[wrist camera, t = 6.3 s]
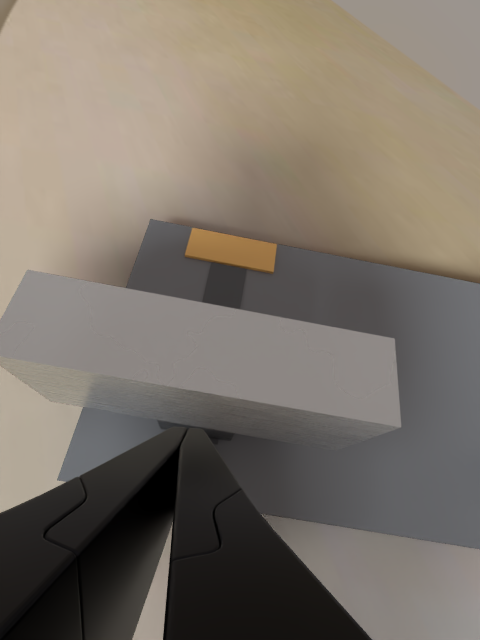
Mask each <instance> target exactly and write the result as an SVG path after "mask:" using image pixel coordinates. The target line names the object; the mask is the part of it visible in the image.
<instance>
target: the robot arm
mask: <svg viewBox="0 0 480 640" xmlns="http://www.w3.org/2000/svg"><path fill="white" fill-rule="evenodd" d="M172 522H173V528H172V540H171V552H170V564H169V575H168V587H167V599H166V611H165V623H164V634H163V640H372V639H371V638H370V637H369V636H368V635H367V633H366V632H365V631H364V630H363V629H362V628H361V627H360V626H359V624H358V623H357V622H356V621H355V620H354V619H353V618H352V617H351V616H350V614H349V613H348V612H347V611H346V610H345V609H344V608H343V607H342V606H341V604H340V603H339V602H338V601H337V600H336V599H335V598H334V597H333V595H332V594H331V593H330V592H329V591H328V590H327V589H326V588H325V587H324V585H323V584H322V583H321V582H320V581H319V580H318V579H317V578H316V577H315V575H314V574H313V573H312V572H311V571H310V570H309V569H308V568H307V566H306V565H305V564H304V563H303V562H302V561H301V560H300V559H299V558H298V556H297V555H296V554H295V553H294V552H293V551H292V550H291V549H290V548H289V546H288V545H287V544H286V543H285V542H284V541H283V540H282V539H281V537H280V536H279V535H278V534H277V533H276V532H275V531H274V530H273V529H272V527H271V526H270V525H269V524H268V523H267V521H266V520H265V519H264V518H263V517H262V515H261V514H260V513H259V512H258V510H257V509H256V507H255V506H254V505H253V503H252V502H251V500H250V499H249V498H248V496H247V494H246V493H245V491H244V490H243V489H242V488H241V486H240V485H239V483H238V482H237V480H236V478H235V477H234V475H233V474H232V472H231V471H230V469H229V468H228V466H227V465H226V463H225V462H224V460H223V458H222V457H221V455H220V454H219V452H218V451H217V449H216V448H215V446H214V445H213V443H212V442H211V440H210V438H209V437H208V435H207V434H206V432H205V431H204V430H203V429H198V428H189V429H187V428H185V427H171V428H169V429H167V430H165V431H164V432H162V433H160V434H158V435H156V436H154V437H152V438H150V439H148V440H146V441H145V442H143V443H141V444H139V445H137V446H135V447H133V448H131V449H129V450H128V451H126V452H124V453H122V454H120V455H118V456H116V457H114V458H112V459H110V460H109V461H107V462H105V463H103V464H101V465H99V466H97V467H95V468H93V469H91V470H90V471H88V472H86V473H84V474H82V475H80V476H79V477H75V478H73V479H71V480H69V481H67V482H66V483H64V484H62V485H60V486H58V487H56V488H54V489H52V490H50V491H48V492H46V493H44V494H42V495H40V496H37V497H35V498H33V499H31V500H29V501H26V502H24V503H22V504H20V505H17V506H15V507H13V508H11V509H8V510H6V511H4V512H2V513H0V640H132V638H133V635H134V632H135V629H136V627H137V624H138V621H139V618H140V615H141V612H142V609H143V606H144V603H145V601H146V598H147V595H148V592H149V589H150V586H151V583H152V580H153V577H154V574H155V572H156V569H157V566H158V563H159V560H160V557H161V554H162V551H163V548H164V546H165V543H166V540H167V537H168V534H169V531H170V528H171V525H172Z"/></svg>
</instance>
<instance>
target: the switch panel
mask: <svg viewBox="0 0 480 640" xmlns="http://www.w3.org/2000/svg"><path fill="white" fill-rule="evenodd" d="M126 288H128V289H133V290H139V291H144V292H149V293H155V294H160V295H165V296H171V297H176V298H181V299H187V300H192V301H197V302H203V303H208V304H213V305H219V306H224V307H229V308H235V309H240V310H245V311H251V312H256V313H261V314H267V315H272V316H277V317H283V318H288V319H293V320H299V321H304V322H309V323H315V324H320V325H325V326H331V327H336V328H341V329H347V330H352V331H357V332H363V333H368V334H373V335H379V336H384V337H389V338H395V349H396V362H397V376H398V389H399V402H400V416H401V428H398V429H395V430H392V431H390V432H387V433H384V434H381V435H378V436H375V437H373V438H370V439H367V440H364V441H361V442H358V443H356V444H353V445H350V446H347V447H344V448H341V449H338V450H336V451H335V450H329V449H323V448H317V447H311V446H306V445H300V444H294V443H288V442H282V441H277V440H271V439H265V438H259V437H253V436H248V435H242V434H236V433H235V435H234V436H233V438H232V439H231V441H227V440H222V439H216V438H210V437H209V438H210V440H211V442H212V443H213V445H214V446H215V448H216V449H217V451H218V452H219V454H220V455H221V457H222V458H223V460H224V462H225V463H226V465H227V466H228V468H229V469H230V471H231V472H232V474H233V475H234V477H235V478H236V480H237V482H238V483H239V485H240V486H241V488H242V489H243V490H244V491H245V493H246V494H247V496H248V498H249V499H250V500H251V502H252V503H253V505H254V506H255V507H256V509H257V510H258V512H259V513H261V514H267V515H273V516H279V517H286V518H292V519H298V520H304V521H310V522H316V523H322V524H328V525H335V526H341V527H347V528H353V529H359V530H365V531H371V532H378V533H384V534H390V535H396V536H402V537H408V538H414V539H420V540H427V541H433V542H439V543H445V544H451V545H457V546H463V547H469V548H476V549H480V284H479V283H474V282H469V281H464V280H458V279H453V278H448V277H443V276H438V275H433V274H428V273H423V272H418V271H413V270H408V269H402V268H397V267H392V266H387V265H382V264H377V263H372V262H367V261H362V260H357V259H352V258H346V257H341V256H336V255H331V254H326V253H321V252H316V251H311V250H306V249H301V248H296V247H290V246H285V245H280V244H275V243H270V242H265V241H260V240H255V239H250V238H245V237H240V236H234V235H229V234H224V233H219V232H214V231H209V230H204V229H199V228H194V227H189V226H184V225H178V224H173V223H168V222H163V221H158V220H153V219H150V222H149V225H148V228H147V231H146V233H145V236H144V239H143V242H142V245H141V247H140V250H139V253H138V256H137V259H136V261H135V264H134V267H133V270H132V272H131V275H130V278H129V281H128V284H127V286H126ZM164 431H165V430H163V429H160V426H159V424H158V422H157V420H155V419H149V418H143V417H137V416H132V415H126V414H120V413H114V412H108V411H103V410H97V409H91V408H85V407H83V409H82V412H81V415H80V418H79V420H78V423H77V426H76V429H75V431H74V434H73V437H72V440H71V443H70V445H69V448H68V451H67V454H66V457H65V459H64V462H63V465H62V468H61V471H60V473H59V476H58V479H57V480H59V481H65V482H67V481H69V480H71V479H73V478H75V477H79V476H80V475H82V474H84V473H86V472H88V471H90V470H91V469H93V468H95V467H97V466H99V465H101V464H103V463H105V462H107V461H109V460H110V459H112V458H114V457H116V456H118V455H120V454H122V453H124V452H126V451H128V450H129V449H131V448H133V447H135V446H137V445H139V444H141V443H143V442H145V441H146V440H148V439H150V438H152V437H154V436H156V435H158V434H160V433H162V432H164Z"/></svg>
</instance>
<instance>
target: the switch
mask: <svg viewBox="0 0 480 640" xmlns="http://www.w3.org/2000/svg"><path fill="white" fill-rule="evenodd" d="M0 366H1V367H3V368H4V369H5V370H7V371H8V372H10V373H11V374H12V375H14V376H15V377H17V378H18V379H19V380H21V381H22V382H24V383H25V384H27V385H28V386H29V387H31V388H32V389H34V390H35V391H36V392H38V393H39V394H41V395H42V396H43V397H45V398H46V399H48V400H49V401H51V402H56V403H62V404H68V405H73V406H79V407H85V408H91V409H97V410H103V411H108V412H114V413H120V414H126V415H132V416H137V417H143V418H149V419H155V420H157V422H158V424H159V426H160V429H163V430H167V429H169V428H171V427H185V428H187V429H189V428H198V429H203V430H204V431H205V432H206V434H207V435H208V437H210V438H216V439H222V440H227V441H231V439H232V438H233V436H234V435H235V433H236V434H242V435H248V436H253V437H259V438H265V439H271V440H277V441H282V442H288V443H294V444H300V445H306V446H311V447H317V448H323V449H329V450H335V451H336V450H338V449H341V448H344V447H347V446H350V445H353V444H356V443H358V442H361V441H364V440H367V439H370V438H373V437H375V436H378V435H381V434H384V433H387V432H390V431H392V430H395V429H398V428H401V416H400V402H399V389H398V376H397V362H396V349H395V338H389V337H384V336H379V335H373V334H368V333H363V332H357V331H352V330H347V329H341V328H336V327H331V326H325V325H320V324H315V323H309V322H304V321H299V320H293V319H288V318H283V317H277V316H272V315H267V314H261V313H256V312H251V311H245V310H240V309H235V308H229V307H224V306H219V305H213V304H208V303H203V302H197V301H192V300H187V299H181V298H176V297H171V296H165V295H160V294H155V293H149V292H144V291H139V290H133V289H128V288H123V287H117V286H112V285H107V284H101V283H96V282H91V281H85V280H80V279H75V278H69V277H64V276H59V275H53V274H48V273H43V272H37V271H32V270H27V271H26V273H25V275H24V277H23V279H22V281H21V283H20V284H19V286H18V288H17V290H16V292H15V294H14V296H13V298H12V299H11V301H10V303H9V305H8V307H7V309H6V311H5V312H4V314H3V316H2V318H1V320H0Z"/></svg>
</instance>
